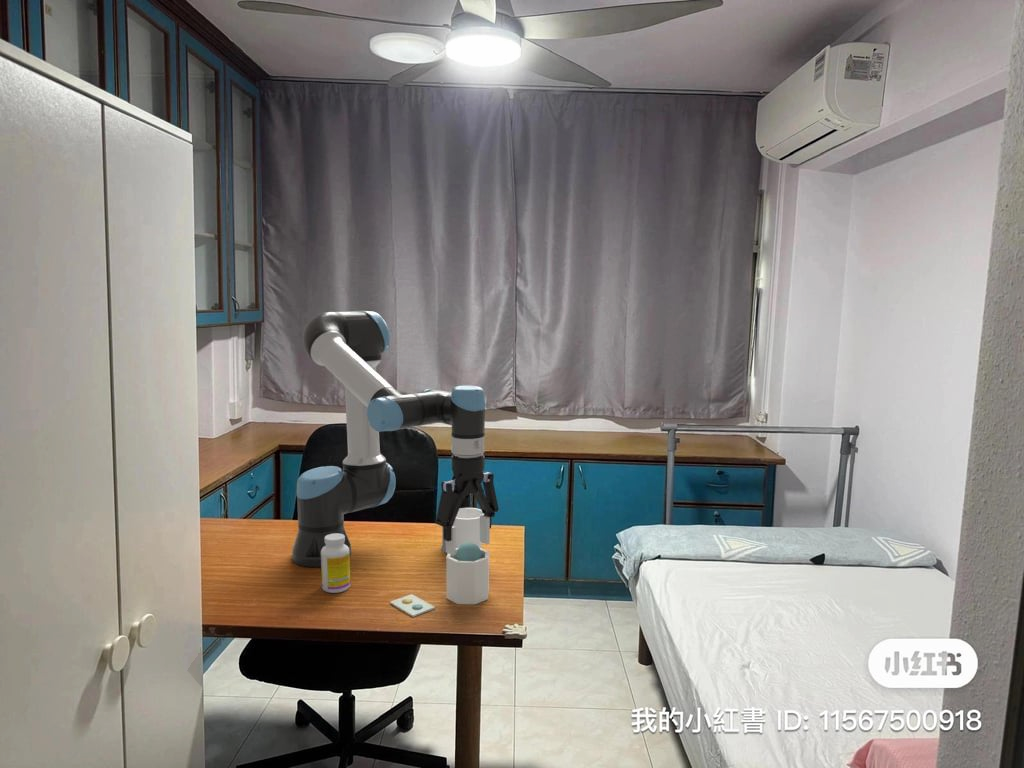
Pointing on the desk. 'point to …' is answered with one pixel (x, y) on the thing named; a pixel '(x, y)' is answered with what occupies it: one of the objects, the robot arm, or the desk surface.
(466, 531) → the foam cup
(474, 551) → the ball teal
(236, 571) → the desk surface
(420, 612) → the card
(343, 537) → the supplement bottle
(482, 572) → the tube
